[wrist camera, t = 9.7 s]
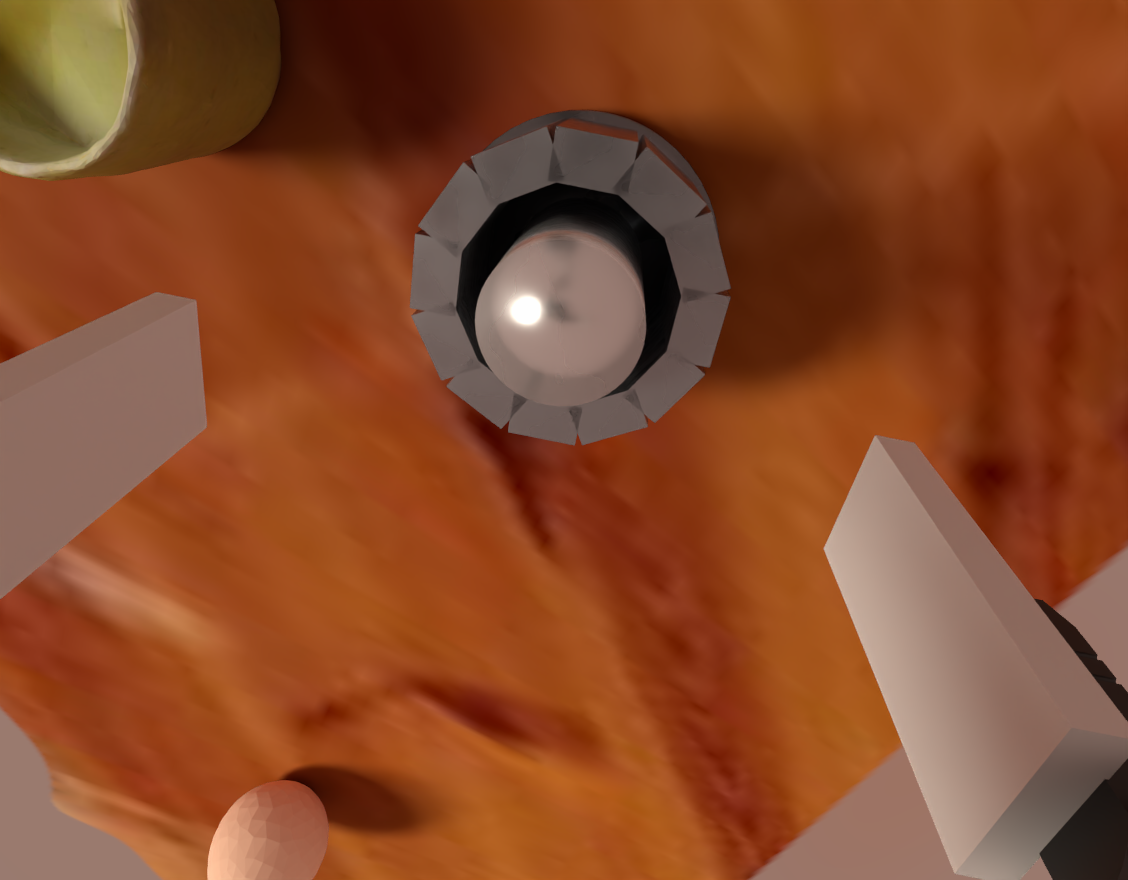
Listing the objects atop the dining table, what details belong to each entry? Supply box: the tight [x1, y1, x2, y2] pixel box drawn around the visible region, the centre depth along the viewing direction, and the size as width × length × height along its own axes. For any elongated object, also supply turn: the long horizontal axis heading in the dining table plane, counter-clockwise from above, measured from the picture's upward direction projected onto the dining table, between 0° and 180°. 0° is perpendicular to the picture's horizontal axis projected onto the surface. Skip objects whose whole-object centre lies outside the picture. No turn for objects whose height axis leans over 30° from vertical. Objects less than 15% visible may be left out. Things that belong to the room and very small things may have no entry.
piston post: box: [475, 110, 719, 406], centre depth 24 cm, size 11×11×9 cm
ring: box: [410, 117, 731, 445], centre depth 25 cm, size 10×10×6 cm
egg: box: [208, 780, 329, 880], centre depth 42 cm, size 7×7×8 cm
